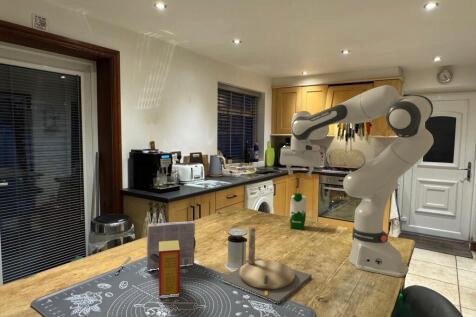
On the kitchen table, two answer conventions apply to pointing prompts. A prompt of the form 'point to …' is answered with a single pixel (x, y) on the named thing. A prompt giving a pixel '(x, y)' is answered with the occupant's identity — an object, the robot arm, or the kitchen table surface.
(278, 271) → the dial
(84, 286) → the kitchen table surface
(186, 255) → the cake pan box
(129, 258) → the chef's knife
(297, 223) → the milk carton
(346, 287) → the kitchen table surface
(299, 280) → the base plate
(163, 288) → the baking soda box
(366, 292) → the kitchen table surface
